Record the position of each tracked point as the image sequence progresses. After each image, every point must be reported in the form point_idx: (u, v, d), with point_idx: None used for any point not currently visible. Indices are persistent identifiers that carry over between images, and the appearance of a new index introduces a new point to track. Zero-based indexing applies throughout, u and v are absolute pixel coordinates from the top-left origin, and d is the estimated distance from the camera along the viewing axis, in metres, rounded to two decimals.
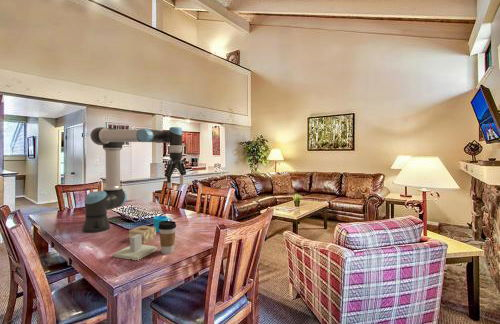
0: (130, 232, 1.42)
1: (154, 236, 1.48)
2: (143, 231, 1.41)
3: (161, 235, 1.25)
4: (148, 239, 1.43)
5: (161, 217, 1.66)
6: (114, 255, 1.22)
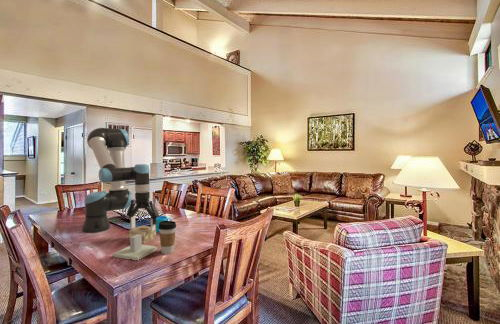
0: (130, 232, 1.42)
1: (154, 236, 1.48)
2: (143, 231, 1.41)
3: (161, 235, 1.25)
4: (148, 239, 1.43)
5: (161, 217, 1.66)
6: (114, 255, 1.22)
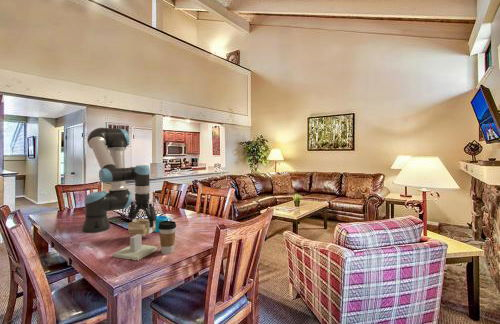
0: (130, 224, 1.42)
1: (153, 229, 1.48)
2: (142, 224, 1.42)
3: (161, 235, 1.25)
4: (147, 232, 1.43)
5: (161, 217, 1.66)
6: (114, 255, 1.22)
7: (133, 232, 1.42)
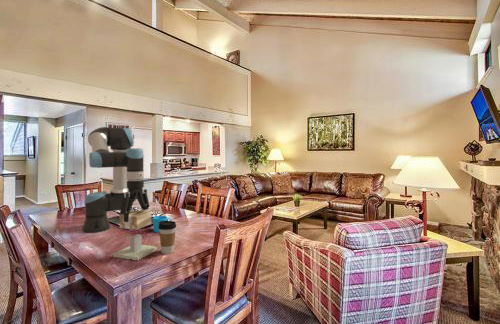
0: (138, 218, 1.21)
1: None
2: (146, 212, 1.28)
3: (161, 235, 1.25)
4: None
5: (161, 217, 1.66)
6: (114, 255, 1.22)
7: (142, 225, 1.23)
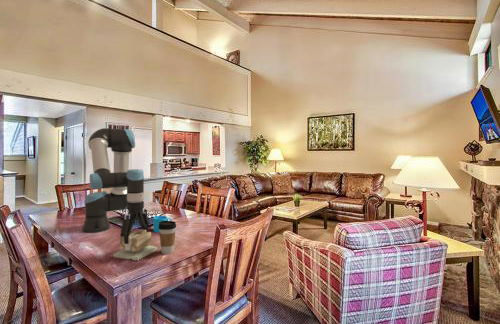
0: (138, 240, 1.21)
1: None
2: (146, 232, 1.29)
3: (161, 235, 1.25)
4: None
5: (161, 217, 1.66)
6: (114, 255, 1.22)
7: (142, 246, 1.24)
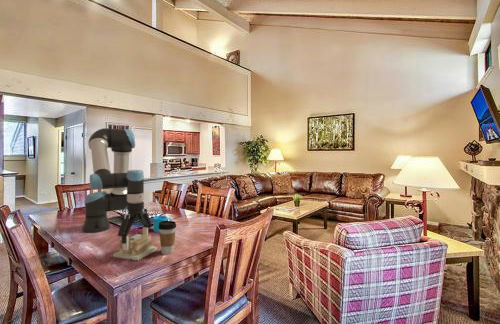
0: (138, 243, 1.22)
1: None
2: (146, 236, 1.29)
3: (161, 235, 1.25)
4: None
5: (161, 217, 1.66)
6: (114, 255, 1.22)
7: (142, 250, 1.24)
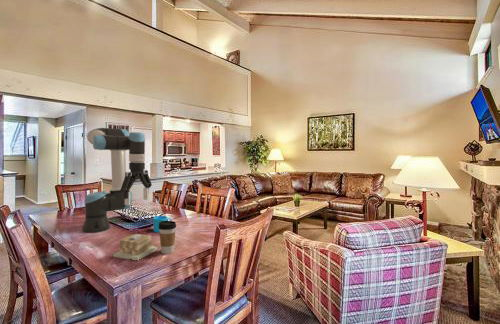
0: (138, 243, 1.22)
1: None
2: (146, 236, 1.29)
3: (161, 235, 1.25)
4: None
5: (161, 217, 1.66)
6: (114, 255, 1.22)
7: (142, 250, 1.24)
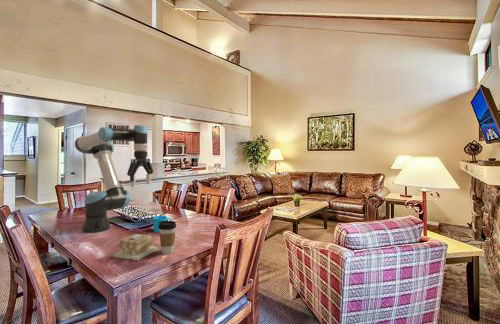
0: (138, 243, 1.22)
1: None
2: (146, 236, 1.29)
3: (161, 235, 1.25)
4: None
5: (161, 217, 1.66)
6: (114, 255, 1.22)
7: (142, 250, 1.24)
